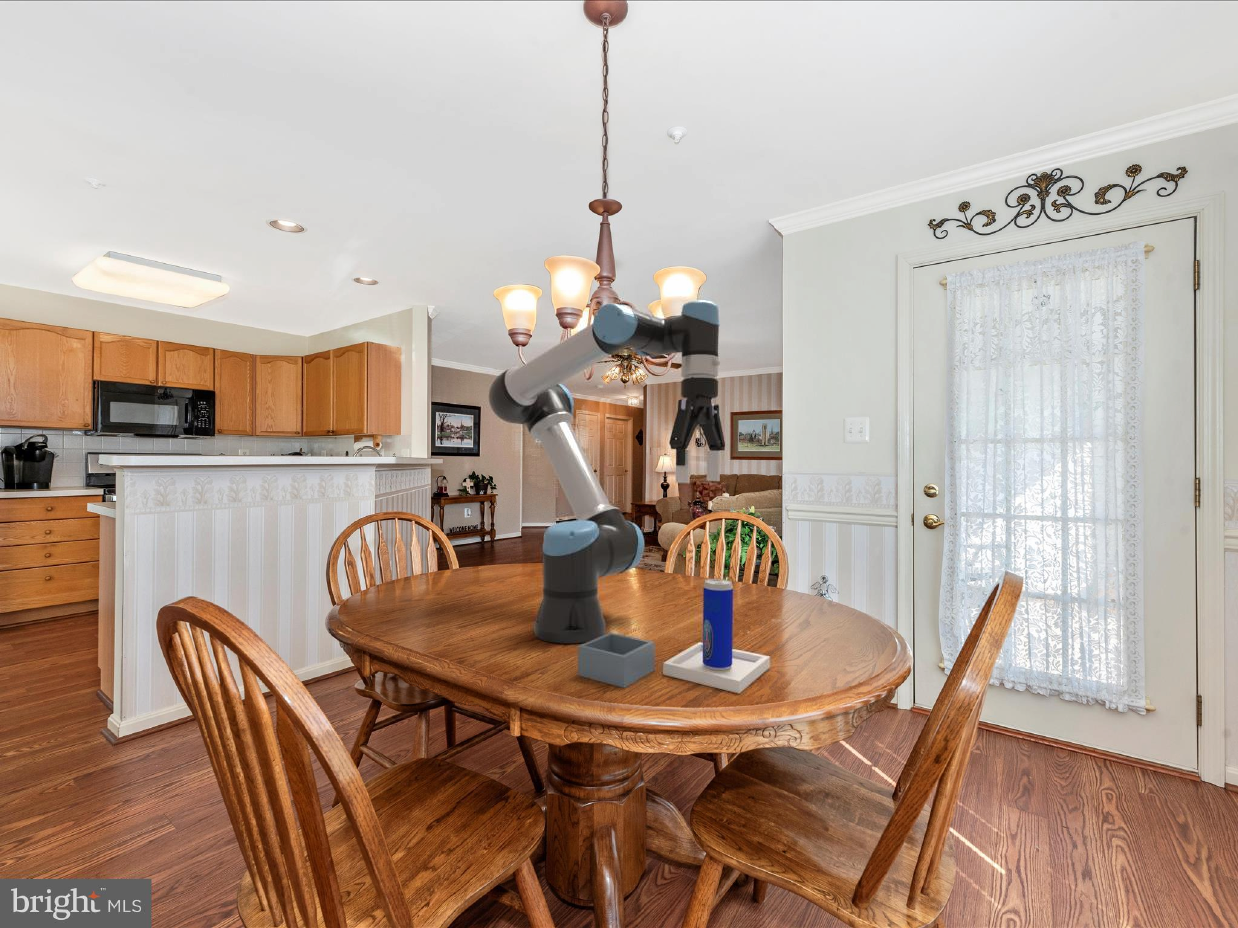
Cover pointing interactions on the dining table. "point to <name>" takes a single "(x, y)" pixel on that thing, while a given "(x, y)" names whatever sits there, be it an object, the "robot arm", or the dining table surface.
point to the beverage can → (717, 624)
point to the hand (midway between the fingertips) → (698, 482)
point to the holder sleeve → (616, 659)
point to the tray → (733, 679)
